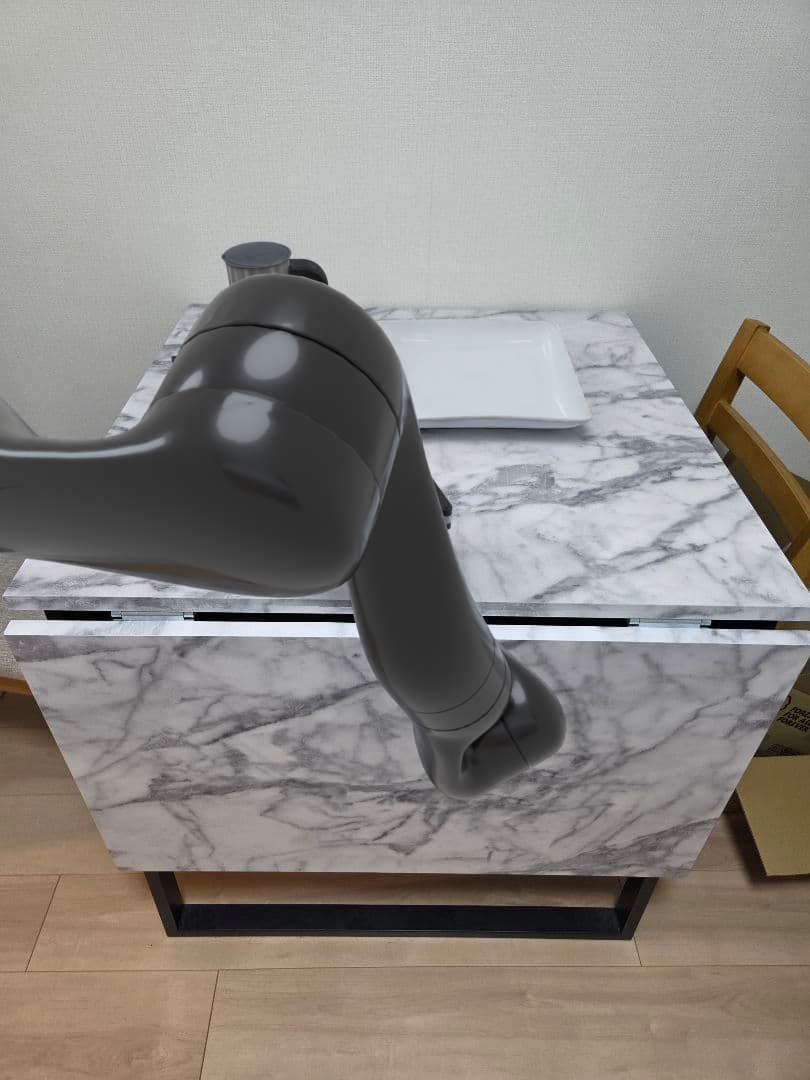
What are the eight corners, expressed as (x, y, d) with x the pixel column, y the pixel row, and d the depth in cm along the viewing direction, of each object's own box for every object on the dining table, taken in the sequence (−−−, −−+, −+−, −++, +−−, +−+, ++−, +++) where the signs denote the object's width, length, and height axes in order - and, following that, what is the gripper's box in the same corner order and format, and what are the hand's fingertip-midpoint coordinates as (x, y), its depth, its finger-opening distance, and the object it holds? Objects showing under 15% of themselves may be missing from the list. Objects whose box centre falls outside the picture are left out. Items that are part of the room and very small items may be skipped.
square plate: (375, 341, 113) (374, 316, 110) (554, 342, 113) (558, 318, 111) (370, 441, 92) (370, 414, 90) (589, 443, 93) (595, 416, 90)
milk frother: (246, 375, 104) (232, 270, 95) (217, 328, 115) (202, 230, 105) (341, 355, 109) (337, 254, 99) (305, 312, 120) (297, 217, 110)
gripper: (487, 527, 63) (418, 427, 75) (325, 564, 60) (278, 453, 71) (480, 589, 68) (416, 487, 80) (329, 627, 65) (285, 514, 76)
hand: (351, 471), depth 76 cm, fingers closed on soda can, 7 cm apart
